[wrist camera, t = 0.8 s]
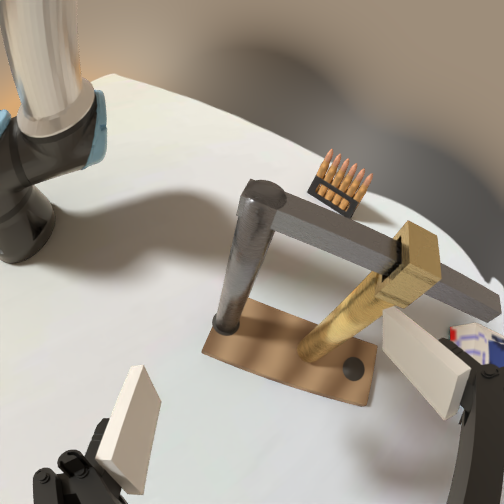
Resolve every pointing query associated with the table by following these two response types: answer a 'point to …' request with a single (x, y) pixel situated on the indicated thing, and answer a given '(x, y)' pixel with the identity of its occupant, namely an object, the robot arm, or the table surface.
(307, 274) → the table surface
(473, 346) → the toy car
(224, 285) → the steel frame
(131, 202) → the table surface
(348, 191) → the ammunition clip
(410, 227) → the brass leg
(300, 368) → the walnut board
